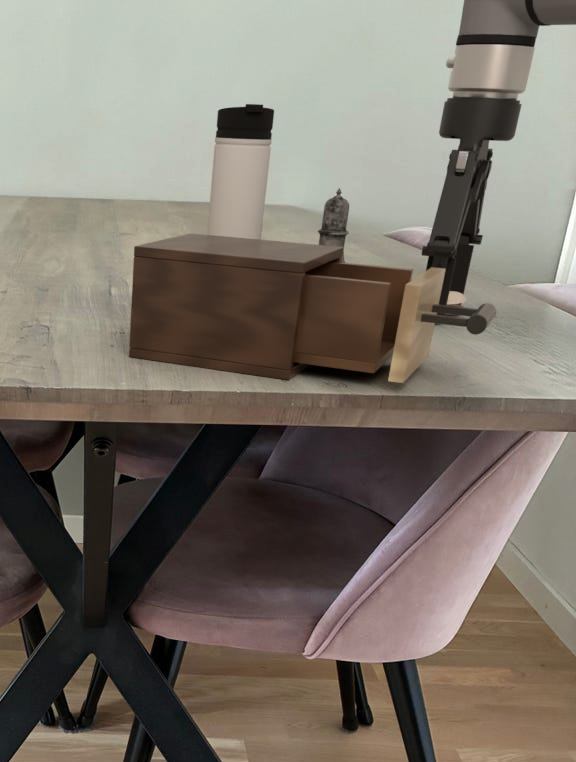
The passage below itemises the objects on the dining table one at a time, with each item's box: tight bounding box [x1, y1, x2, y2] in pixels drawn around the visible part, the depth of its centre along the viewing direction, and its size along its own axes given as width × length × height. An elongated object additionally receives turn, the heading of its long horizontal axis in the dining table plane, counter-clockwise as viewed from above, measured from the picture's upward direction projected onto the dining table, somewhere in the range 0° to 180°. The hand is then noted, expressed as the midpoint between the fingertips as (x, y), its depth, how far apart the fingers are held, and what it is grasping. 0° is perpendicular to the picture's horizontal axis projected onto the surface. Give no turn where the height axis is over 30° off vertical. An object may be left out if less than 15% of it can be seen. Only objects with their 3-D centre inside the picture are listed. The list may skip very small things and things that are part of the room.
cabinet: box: [128, 232, 345, 381], centre depth 84 cm, size 15×13×9 cm
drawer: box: [294, 261, 497, 384], centre depth 79 cm, size 18×11×7 cm, turn 63°
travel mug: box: [206, 103, 275, 240], centre depth 109 cm, size 6×7×20 cm
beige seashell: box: [445, 291, 468, 316], centre depth 107 cm, size 4×5×2 cm
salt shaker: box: [317, 188, 350, 263], centre depth 112 cm, size 6×6×12 cm
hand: (439, 312), depth 108 cm, fingers open, 13 cm apart
